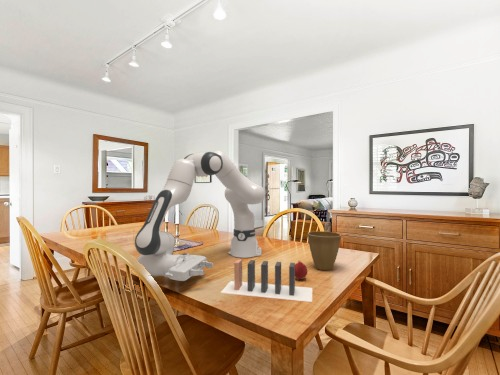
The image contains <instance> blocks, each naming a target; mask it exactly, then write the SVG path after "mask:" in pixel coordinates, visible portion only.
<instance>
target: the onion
mask: <svg viewBox="0 0 500 375" xmlns="http://www.w3.org/2000/svg"><path fill="white" fill-rule="evenodd" d="M307 275H308V268H307V266H306V265H305V263H303V262H302V261H301V260H297V263H295V279H297V280H298V281H301V280H303V279H305V277H307Z"/></svg>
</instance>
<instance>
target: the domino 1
mask: <svg viewBox="0 0 500 375" xmlns="http://www.w3.org/2000/svg"><path fill="white" fill-rule="evenodd" d="M247 282H248V291H250V292H252V291H253V289H254V287H255V283H256V260H255V259H250V260H249V262H248V263H247Z"/></svg>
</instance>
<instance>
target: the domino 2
mask: <svg viewBox="0 0 500 375" xmlns="http://www.w3.org/2000/svg"><path fill="white" fill-rule="evenodd" d="M260 271H261V272H260V283H261V293H266V291H267V289H268V284H269V261H268V260H263V261H262V263H261V264H260Z"/></svg>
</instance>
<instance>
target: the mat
mask: <svg viewBox="0 0 500 375" xmlns="http://www.w3.org/2000/svg"><path fill="white" fill-rule="evenodd" d="M220 294H228V295H238V296H247V297H259V298H268V299H279V300H288V301H297V302H298V301H299V302H309V303H312V302H313V287H306V286H296V285H295V292H294V296H292V295H289V285H284V284H283V285H282V284H281V291H280V294H275V283H274V284H273V283H272V284H271V283H268V289H267V291H266V293H261V282H255V287H254V289H253V291H252V292H250V291H248V281H242V286H241V288H240V289H239V290H234V280H230V281H229V282H228V283H227V284H226V286H225V287H224V288H223V289H222V290H221V291H220Z"/></svg>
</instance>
